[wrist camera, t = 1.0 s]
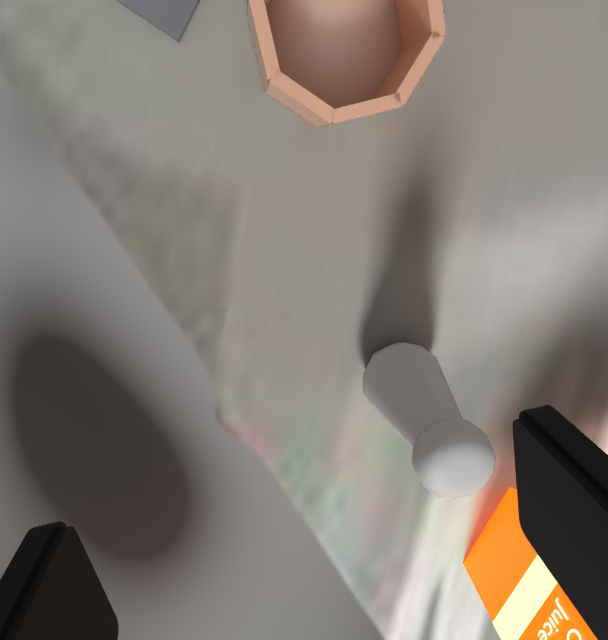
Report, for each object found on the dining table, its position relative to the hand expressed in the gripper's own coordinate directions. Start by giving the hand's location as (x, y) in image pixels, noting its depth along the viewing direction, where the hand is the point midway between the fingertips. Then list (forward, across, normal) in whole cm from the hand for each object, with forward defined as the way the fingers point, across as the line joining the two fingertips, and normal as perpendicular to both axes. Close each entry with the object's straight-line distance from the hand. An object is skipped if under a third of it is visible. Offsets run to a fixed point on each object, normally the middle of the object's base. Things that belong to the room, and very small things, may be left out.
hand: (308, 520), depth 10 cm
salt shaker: (+26, -7, +10) cm, 29 cm away
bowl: (+25, -7, -12) cm, 29 cm away
